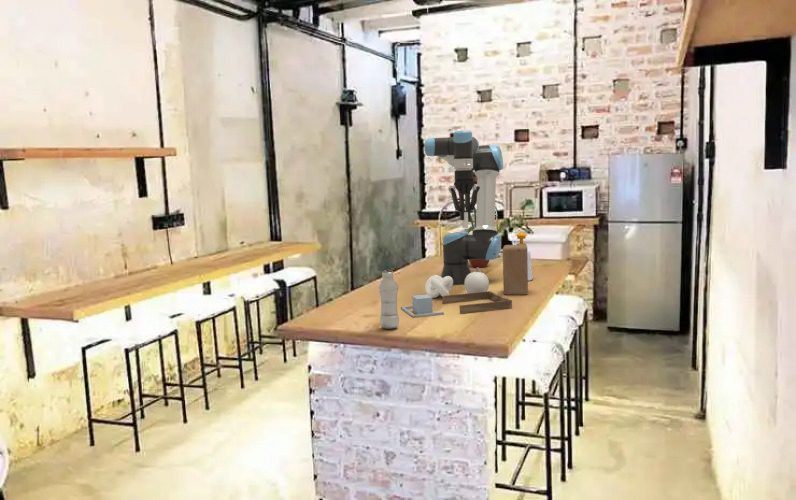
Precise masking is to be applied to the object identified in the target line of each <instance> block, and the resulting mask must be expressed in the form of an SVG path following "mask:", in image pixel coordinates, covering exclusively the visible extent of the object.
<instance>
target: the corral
mask: <svg viewBox="0 0 796 500" xmlns="http://www.w3.org/2000/svg"><path fill="white" fill-rule="evenodd" d="M400 309H401V310H402V311H403V312H405V313H406V314H407V315H409V316H410V317H411V318H413V319H414V318H415V317H416V318H424V317H432V316H441V315H443V316H444V314H445V312H444V311H438V312H437V311H436V312H433V313H425V314H416V313H413V312H412V311H410V310H409V309H413V305H406V306H401V307H400Z"/></svg>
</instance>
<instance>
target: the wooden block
mask: <svg viewBox="0 0 796 500" xmlns="http://www.w3.org/2000/svg"><path fill="white" fill-rule="evenodd" d="M527 249H528V245H527V244H526V245H517V244H505V245H504V246H503V249H502V275H503V277H502V278H503V279H502V280H503V281H502V282H503V283H502V284H503V294H504V295H505V296H506V295H507V296H510V295H511V296H518V295H519V296H526V295H528V293H529V281H528V257H527Z"/></svg>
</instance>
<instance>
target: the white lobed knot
mask: <svg viewBox="0 0 796 500" xmlns="http://www.w3.org/2000/svg"><path fill="white" fill-rule="evenodd" d="M453 285H454V284H453V279H452V278H451V277H450V276H446V277H444V278H442V277H441V275H437V274H434V275H431V276H430V277H429V278H428V279H427V280H426V282H425V285H424V290H425V295H429V296H430V297H432V299H436V298H438V297H439V296H441V297H442V296H447V295H451V294H450V291H451V290H452V288H453Z"/></svg>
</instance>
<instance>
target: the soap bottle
mask: <svg viewBox="0 0 796 500" xmlns="http://www.w3.org/2000/svg"><path fill="white" fill-rule="evenodd" d="M515 236H516V240H517V239H518V240H519V243H516V245H527V243H524V240H525V239H526V238H527V236H528V234H527V233H525V232H523V231H521V232H517V233H516V234H515ZM527 257H528V282H530V281H532V280H533V271H532V270H533V268H532V257H531V250H530V249H529V248H527Z"/></svg>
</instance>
